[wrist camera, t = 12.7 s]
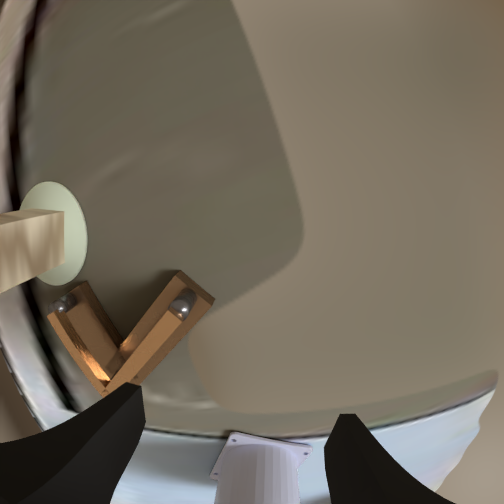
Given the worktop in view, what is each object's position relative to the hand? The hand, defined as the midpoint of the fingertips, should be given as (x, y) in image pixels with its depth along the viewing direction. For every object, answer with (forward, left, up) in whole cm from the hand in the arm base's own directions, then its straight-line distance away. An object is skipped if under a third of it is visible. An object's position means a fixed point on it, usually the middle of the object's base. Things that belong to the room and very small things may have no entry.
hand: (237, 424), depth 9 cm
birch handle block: (0, +17, -10) cm, 20 cm away
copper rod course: (-5, +9, -10) cm, 14 cm away
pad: (0, +17, -10) cm, 20 cm away
